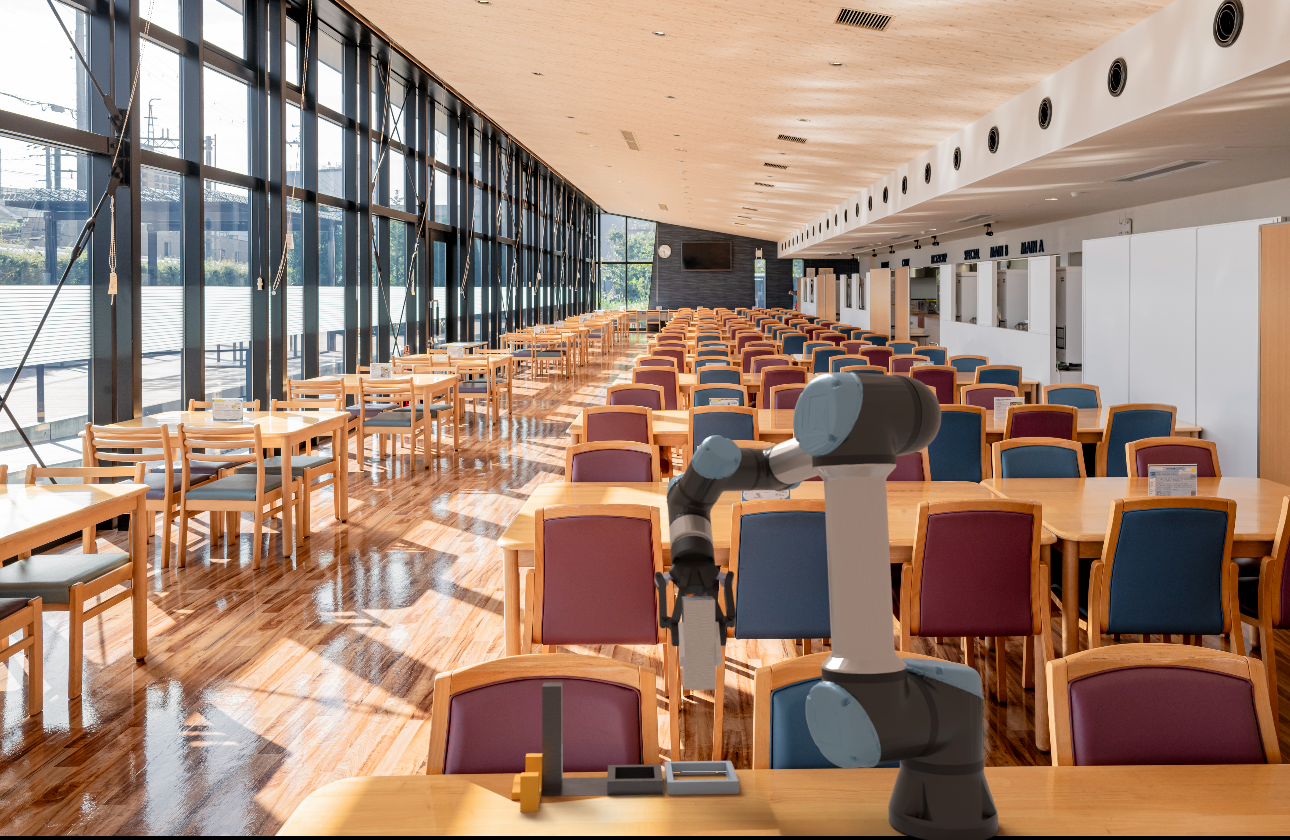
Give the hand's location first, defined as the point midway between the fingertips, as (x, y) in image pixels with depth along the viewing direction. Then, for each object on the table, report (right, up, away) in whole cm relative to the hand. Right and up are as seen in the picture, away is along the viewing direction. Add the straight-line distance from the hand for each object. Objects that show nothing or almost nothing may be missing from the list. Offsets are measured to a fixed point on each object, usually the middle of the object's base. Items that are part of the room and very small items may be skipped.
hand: (700, 661), depth 159 cm
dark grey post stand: (-15, -21, +1) cm, 26 cm away
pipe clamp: (-27, -22, -4) cm, 35 cm away
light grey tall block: (0, -5, +3) cm, 6 cm away
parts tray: (0, -21, +3) cm, 22 cm away
